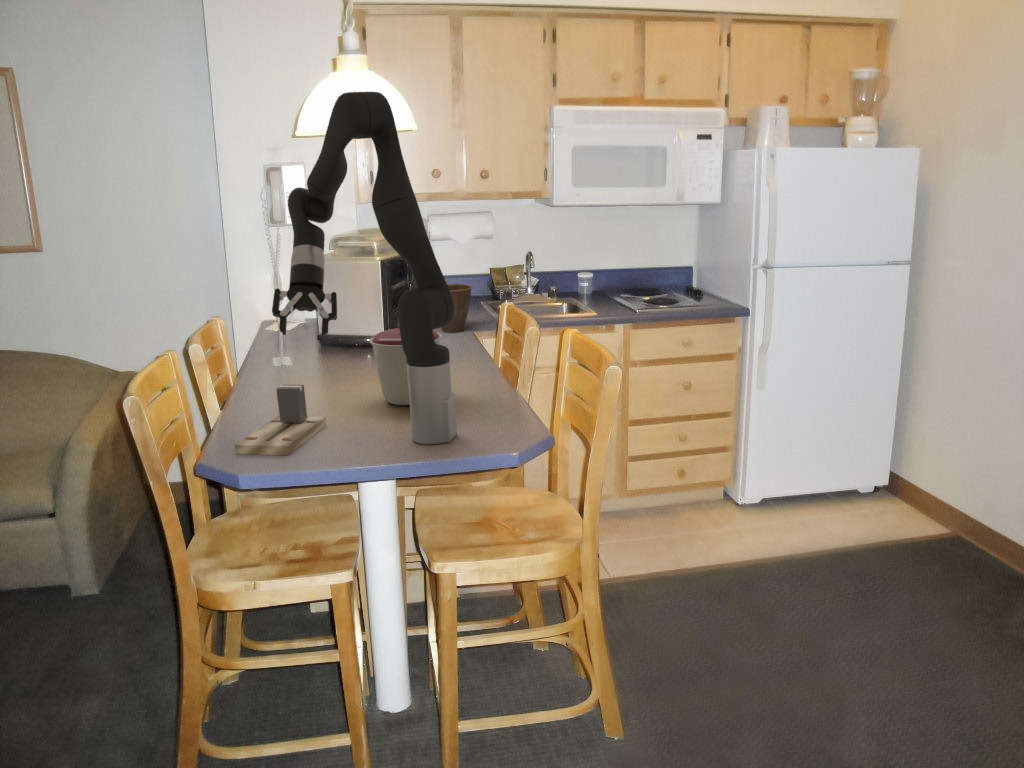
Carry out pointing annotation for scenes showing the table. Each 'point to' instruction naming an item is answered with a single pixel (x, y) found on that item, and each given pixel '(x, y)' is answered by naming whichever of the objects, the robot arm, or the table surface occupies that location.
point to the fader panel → (280, 437)
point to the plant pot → (459, 307)
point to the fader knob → (291, 403)
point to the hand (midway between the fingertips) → (303, 334)
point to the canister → (393, 365)
